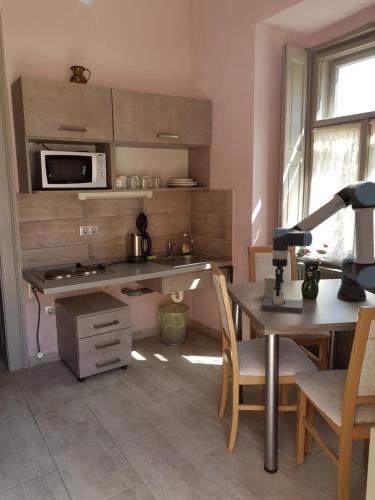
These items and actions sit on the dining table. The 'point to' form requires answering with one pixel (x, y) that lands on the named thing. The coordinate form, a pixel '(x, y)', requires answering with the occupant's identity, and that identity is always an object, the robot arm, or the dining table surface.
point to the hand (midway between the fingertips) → (278, 298)
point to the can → (269, 286)
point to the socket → (287, 307)
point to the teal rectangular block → (281, 298)
